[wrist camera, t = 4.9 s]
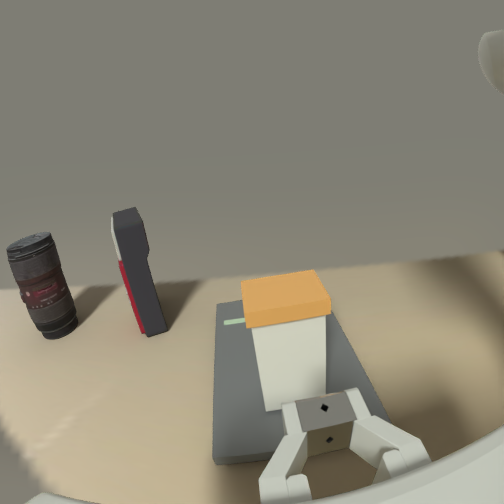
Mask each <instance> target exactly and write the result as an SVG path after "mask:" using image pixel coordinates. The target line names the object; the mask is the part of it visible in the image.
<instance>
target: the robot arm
mask: <svg viewBox="0 0 504 504" xmlns="http://www.w3.org/2000/svg"><path fill="white" fill-rule="evenodd" d="M478 58H479V63H480V66H481V69H482V71H483V73H484V75H485V77H486V78H487V80H488V81H489V82H490V84H491V85H492V86H493V87H494V88H495V89H497V90H498V91H499V92H500V93H501V94H503V95H504V30H498V31H492V32H487V33H485V34H484V35H483V36H482V38H481V40H480V43H479V47H478ZM281 408H282V419H283V427H284V433H285V436H284V437H283V438H282V440H281V442H280V444H279V446H278V447H277V449H276V451H275V453H274V454H273V456H272V458H271V459H270V461H269V463H268V465H267V466H266V468H265V470H264V471H263V473H262V474H261V476H260V478H259V479H258V480H259V490H260V499H261V504H504V424H503V425H502V426H500V427H498V428H497V429H495V430H494V431H492V432H490V433H488V434H487V435H485V436H483V437H482V438H480V439H478V440H476V441H474V442H473V443H471V444H469V445H467V446H465V447H463V448H461V449H459V450H457V451H455V452H453V453H451V454H449V455H447V456H445V457H443V458H441V459H438V460H436V461H434V462H432V460H431V459H430V457H429V455H428V453H427V451H426V449H425V447H424V446H423V444H422V442H421V440H420V439H418V438H417V437H415V436H413V435H411V434H409V433H407V432H405V431H403V430H401V429H399V428H397V427H396V426H394V425H392V424H390V423H388V422H386V421H385V420H383V419H381V418H379V417H377V416H375V415H374V416H371V414H370V412H369V410H368V408H367V406H366V404H365V402H364V399H363V397H362V395H361V393H360V391H359V389H358V388H357V387H356V388H352V389H348V390H344V391H339V392H335V393H330V394H326V395H321V396H318V397H313V398H307V399H301V400H295V401H289V402H282V403H281ZM349 447H350V449H351V450H352V451H353V452H355V453H356V454H357V455H359V456H360V457H361V458H362V459H364V460H365V461H366V462H368V463H369V464H370V465H372V466H373V467H374V468H376V469H377V472H376V475H375V477H374V480H373V482H372V485H370V486H367V487H363V488H360V489H356V490H353V491H349V492H345V493H341V494H337V495H333V496H329V497H325V498H320V499H315V500H312V496H311V492H310V488H309V484H308V480H307V476H306V475H303V474H301V472H302V469H303V467H304V465H305V462H306V460H307V457H310V456H314V455H318V454H323V453H327V452H331V451H336V450H340V449H345V448H349ZM25 504H99V503H94V502H88V501H83V500H79V499H74V498H70V497H66V496H62V495H58V494H54V493H50V492H43V493H41V494H39V495H37V496H35V497H34V498H32V499H30V500H29V501H27V502H26V503H25Z"/></svg>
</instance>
